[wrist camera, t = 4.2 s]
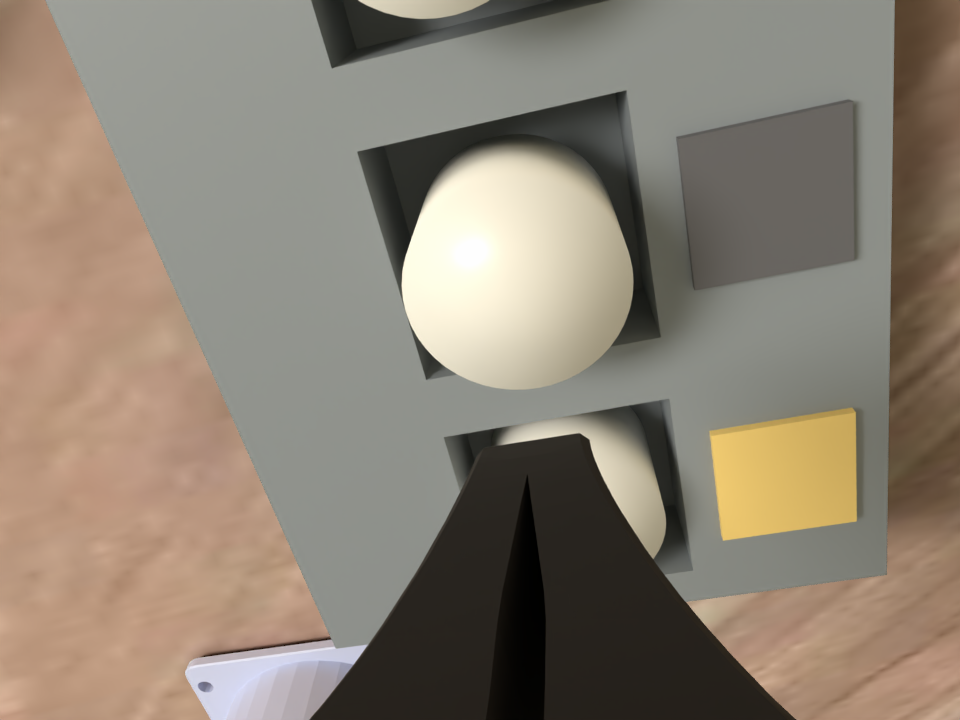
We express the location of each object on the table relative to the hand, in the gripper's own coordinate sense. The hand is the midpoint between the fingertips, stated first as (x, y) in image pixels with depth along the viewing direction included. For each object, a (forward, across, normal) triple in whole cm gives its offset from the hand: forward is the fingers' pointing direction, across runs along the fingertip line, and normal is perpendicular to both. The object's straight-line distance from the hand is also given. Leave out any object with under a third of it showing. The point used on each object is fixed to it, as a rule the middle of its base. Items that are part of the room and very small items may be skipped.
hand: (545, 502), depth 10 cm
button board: (+10, 0, -1) cm, 10 cm away
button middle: (+8, 0, -1) cm, 8 cm away
